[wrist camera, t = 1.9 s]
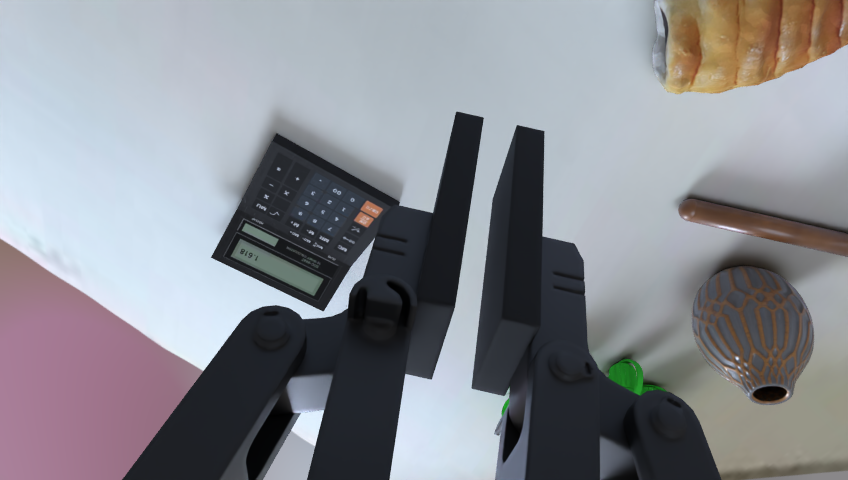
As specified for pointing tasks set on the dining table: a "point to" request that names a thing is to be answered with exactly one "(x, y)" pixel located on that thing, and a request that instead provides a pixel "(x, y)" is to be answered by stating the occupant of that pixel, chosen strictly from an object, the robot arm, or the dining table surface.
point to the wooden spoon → (764, 226)
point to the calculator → (301, 224)
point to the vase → (754, 331)
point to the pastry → (742, 40)
